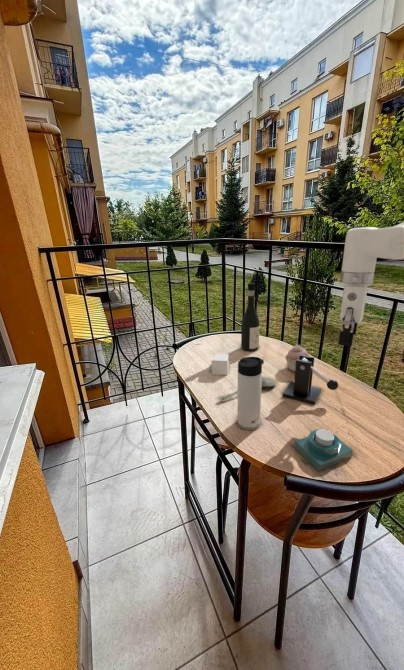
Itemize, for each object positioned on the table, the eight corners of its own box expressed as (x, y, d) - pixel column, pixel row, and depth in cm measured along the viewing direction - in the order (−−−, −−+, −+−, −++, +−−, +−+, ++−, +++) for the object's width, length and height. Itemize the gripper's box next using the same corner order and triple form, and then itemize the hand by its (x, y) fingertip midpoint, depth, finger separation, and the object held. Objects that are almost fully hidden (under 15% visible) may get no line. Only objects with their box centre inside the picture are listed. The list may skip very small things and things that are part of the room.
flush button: (324, 433, 69) (324, 427, 68) (337, 443, 65) (338, 437, 65) (311, 437, 68) (312, 431, 67) (324, 448, 64) (324, 442, 63)
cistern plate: (325, 436, 73) (327, 423, 72) (351, 457, 66) (354, 443, 65) (294, 448, 70) (295, 434, 68) (318, 471, 63) (320, 457, 61)
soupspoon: (279, 388, 97) (266, 381, 102) (279, 379, 96) (266, 372, 101) (226, 406, 87) (215, 397, 92) (226, 396, 86) (215, 388, 91)
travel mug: (259, 433, 75) (261, 366, 68) (235, 428, 77) (235, 363, 70) (262, 419, 81) (265, 355, 74) (240, 414, 83) (240, 353, 76)
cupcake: (315, 371, 106) (317, 347, 102) (294, 376, 103) (296, 351, 99) (299, 361, 114) (301, 339, 110) (279, 366, 111) (281, 342, 108)
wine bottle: (262, 347, 129) (264, 282, 119) (252, 353, 124) (254, 285, 113) (247, 343, 134) (248, 281, 124) (237, 349, 129) (238, 283, 118)
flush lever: (334, 389, 87) (341, 382, 85) (332, 393, 85) (339, 387, 83) (299, 362, 91) (305, 355, 89) (296, 366, 88) (302, 359, 86)
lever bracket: (320, 391, 93) (325, 356, 88) (314, 405, 86) (319, 367, 81) (290, 384, 98) (293, 350, 94) (282, 396, 91) (285, 361, 87)
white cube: (211, 374, 107) (211, 360, 105) (213, 367, 112) (213, 353, 110) (227, 375, 106) (227, 360, 104) (228, 368, 111) (228, 354, 109)
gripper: (371, 284, 64) (359, 353, 70) (374, 274, 78) (364, 332, 84) (335, 282, 68) (327, 347, 74) (345, 273, 82) (337, 328, 87)
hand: (347, 339), depth 79 cm, fingers open, 9 cm apart
